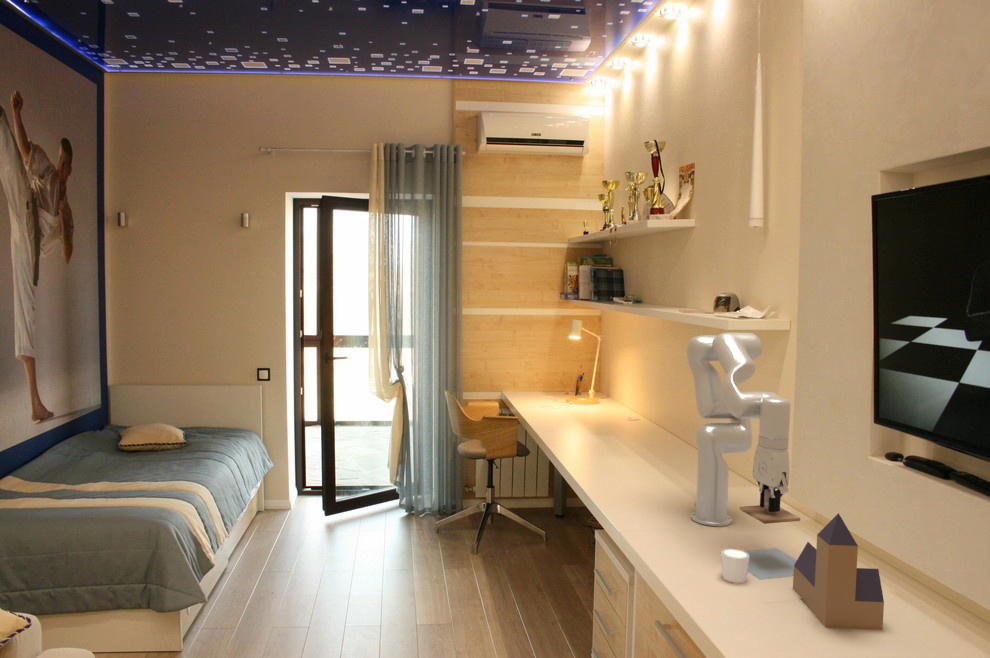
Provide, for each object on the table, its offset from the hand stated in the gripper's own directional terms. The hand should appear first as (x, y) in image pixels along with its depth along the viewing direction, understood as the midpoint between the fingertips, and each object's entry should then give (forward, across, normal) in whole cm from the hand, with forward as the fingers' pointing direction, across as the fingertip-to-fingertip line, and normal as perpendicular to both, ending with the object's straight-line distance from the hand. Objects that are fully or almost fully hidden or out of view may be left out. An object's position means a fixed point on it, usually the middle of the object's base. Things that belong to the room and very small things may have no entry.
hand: (769, 508), depth 186 cm
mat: (+15, +1, 0) cm, 15 cm away
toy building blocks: (+15, +27, -1) cm, 31 cm away
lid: (+2, 0, 0) cm, 2 cm away
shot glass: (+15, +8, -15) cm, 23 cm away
